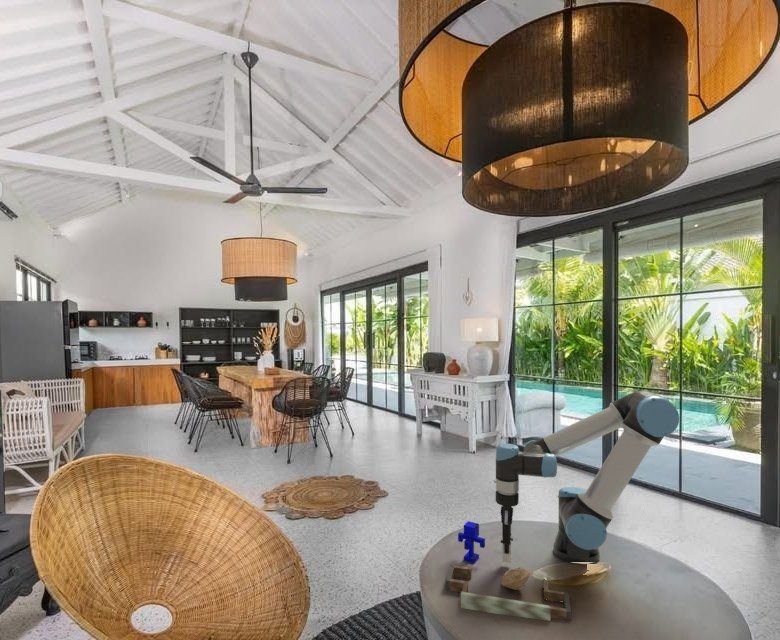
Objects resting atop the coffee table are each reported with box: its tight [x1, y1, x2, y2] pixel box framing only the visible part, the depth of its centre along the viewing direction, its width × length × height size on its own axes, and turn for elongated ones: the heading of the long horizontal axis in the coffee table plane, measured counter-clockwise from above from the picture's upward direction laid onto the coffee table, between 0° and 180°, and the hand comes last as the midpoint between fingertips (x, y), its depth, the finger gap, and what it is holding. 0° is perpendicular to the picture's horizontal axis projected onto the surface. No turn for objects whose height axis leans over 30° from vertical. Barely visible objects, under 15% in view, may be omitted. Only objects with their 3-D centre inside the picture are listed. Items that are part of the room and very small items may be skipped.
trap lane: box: [445, 564, 572, 622], centre depth 138 cm, size 35×18×4 cm, turn 74°
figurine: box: [457, 520, 486, 564], centre depth 160 cm, size 8×8×12 cm
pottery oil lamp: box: [501, 567, 531, 591], centre depth 143 cm, size 9×12×7 cm
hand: (506, 561), depth 155 cm, fingers closed
